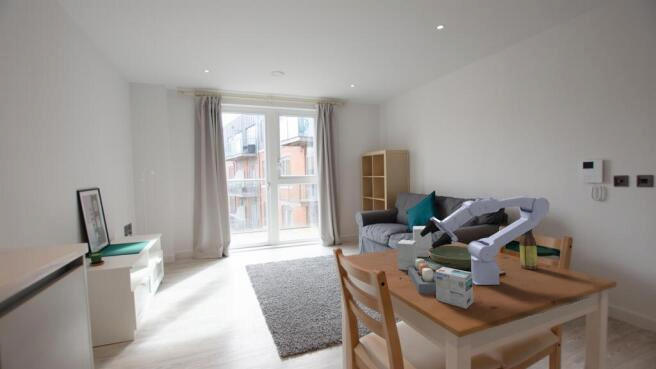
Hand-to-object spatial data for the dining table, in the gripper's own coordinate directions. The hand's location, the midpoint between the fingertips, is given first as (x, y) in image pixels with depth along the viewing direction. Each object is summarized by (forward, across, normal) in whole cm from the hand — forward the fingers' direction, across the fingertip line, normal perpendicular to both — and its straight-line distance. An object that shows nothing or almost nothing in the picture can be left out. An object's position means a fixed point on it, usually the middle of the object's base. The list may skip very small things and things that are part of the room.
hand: (426, 241), depth 117 cm
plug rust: (+9, +4, +11) cm, 15 cm away
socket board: (+10, +6, +14) cm, 18 cm away
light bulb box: (+7, +22, +7) cm, 24 cm away
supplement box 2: (-1, -24, +39) cm, 46 cm away
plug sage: (+8, -1, +15) cm, 17 cm away
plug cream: (+9, +9, +8) cm, 15 cm away
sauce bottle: (-33, +11, +43) cm, 55 cm away
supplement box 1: (+11, -11, +23) cm, 28 cm away
